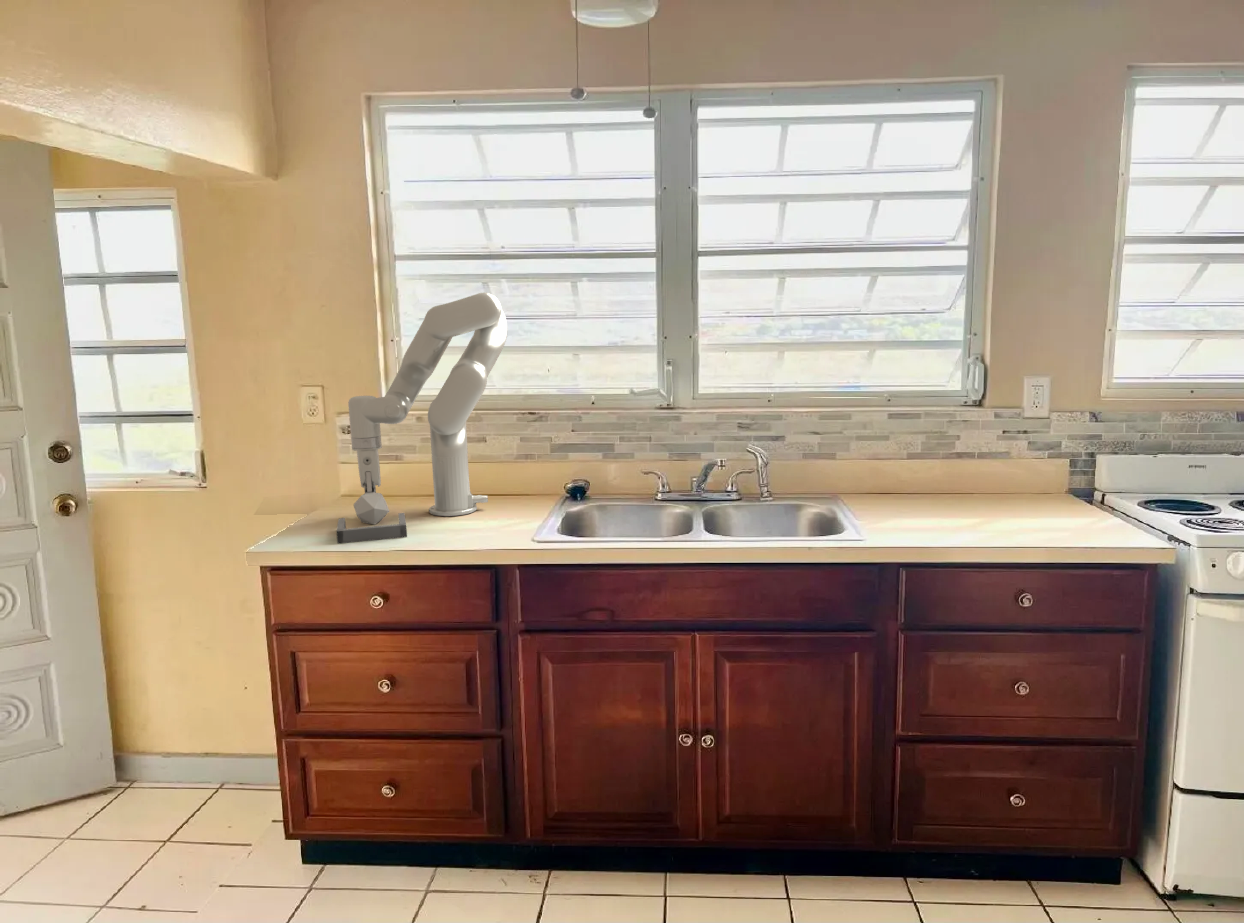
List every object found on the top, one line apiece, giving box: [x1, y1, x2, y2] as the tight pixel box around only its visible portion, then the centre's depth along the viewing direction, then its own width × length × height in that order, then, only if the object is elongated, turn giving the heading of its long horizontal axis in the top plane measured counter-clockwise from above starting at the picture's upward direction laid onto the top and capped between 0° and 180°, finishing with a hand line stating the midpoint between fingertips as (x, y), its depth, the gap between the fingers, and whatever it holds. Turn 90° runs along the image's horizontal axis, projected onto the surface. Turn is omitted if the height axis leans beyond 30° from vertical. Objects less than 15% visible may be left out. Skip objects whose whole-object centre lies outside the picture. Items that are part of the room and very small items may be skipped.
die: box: [353, 492, 390, 526], centre depth 217 cm, size 8×9×10 cm
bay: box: [335, 512, 408, 544], centre depth 206 cm, size 16×13×3 cm
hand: (371, 510), depth 223 cm, fingers closed
